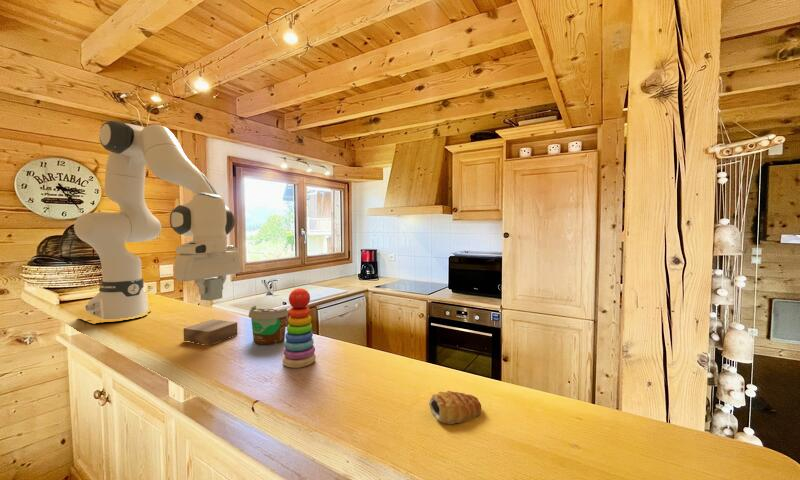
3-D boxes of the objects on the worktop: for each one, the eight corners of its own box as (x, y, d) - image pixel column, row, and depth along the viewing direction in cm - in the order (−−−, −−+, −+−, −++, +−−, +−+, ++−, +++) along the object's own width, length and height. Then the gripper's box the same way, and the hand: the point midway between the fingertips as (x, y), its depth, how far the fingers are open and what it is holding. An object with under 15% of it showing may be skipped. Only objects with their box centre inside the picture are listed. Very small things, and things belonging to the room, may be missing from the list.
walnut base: (183, 341, 94) (183, 328, 94) (213, 331, 104) (213, 319, 104) (209, 345, 91) (209, 332, 91) (237, 334, 101) (237, 322, 100)
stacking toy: (275, 365, 79) (274, 289, 78) (299, 353, 86) (299, 284, 85) (299, 371, 75) (298, 292, 74) (322, 359, 82) (322, 287, 81)
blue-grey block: (200, 299, 96) (200, 279, 95) (212, 297, 99) (212, 277, 99) (211, 300, 94) (210, 280, 94) (222, 297, 98) (221, 278, 98)
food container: (239, 344, 92) (238, 310, 92) (254, 337, 98) (254, 305, 98) (274, 349, 89) (274, 313, 88) (288, 341, 95) (288, 308, 94)
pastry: (469, 400, 63) (470, 381, 63) (489, 420, 57) (490, 399, 57) (426, 408, 60) (426, 388, 60) (441, 429, 54) (441, 407, 54)
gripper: (230, 244, 107) (231, 285, 108) (169, 248, 88) (170, 297, 88) (245, 245, 105) (246, 286, 106) (186, 248, 86) (187, 299, 86)
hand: (211, 291), depth 97 cm, fingers closed on blue-grey block, 4 cm apart
